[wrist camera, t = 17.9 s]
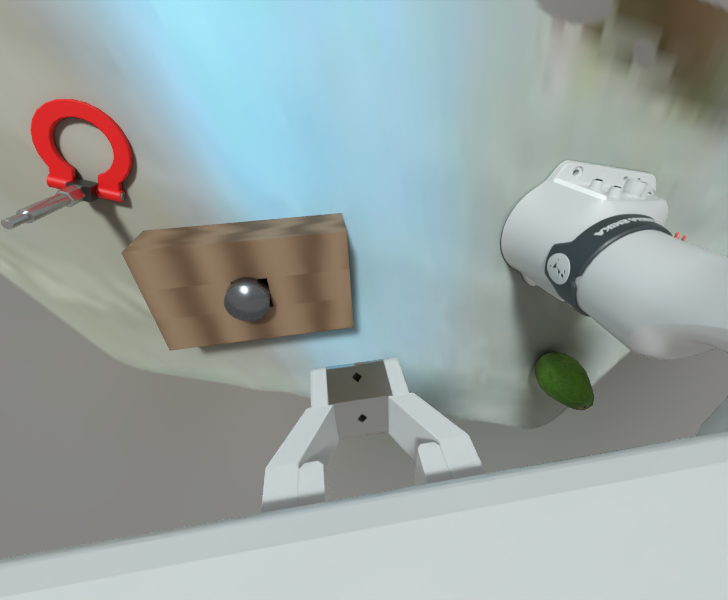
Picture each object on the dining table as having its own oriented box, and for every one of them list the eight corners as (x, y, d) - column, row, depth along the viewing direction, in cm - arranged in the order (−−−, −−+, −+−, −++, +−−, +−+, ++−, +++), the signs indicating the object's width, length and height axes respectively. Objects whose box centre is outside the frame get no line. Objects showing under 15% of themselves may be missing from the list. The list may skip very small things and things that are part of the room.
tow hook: (31, 85, 31) (45, 183, 36) (-105, 80, 21) (-63, 221, 25) (133, 115, 34) (135, 203, 38) (59, 124, 23) (72, 245, 27)
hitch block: (341, 213, 43) (346, 231, 38) (348, 302, 51) (353, 327, 46) (143, 230, 40) (121, 252, 35) (183, 322, 48) (169, 350, 43)
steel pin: (270, 253, 44) (265, 283, 38) (276, 285, 47) (272, 318, 40) (230, 256, 43) (219, 287, 37) (239, 288, 46) (229, 323, 40)
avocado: (534, 343, 63) (578, 393, 53) (570, 342, 64) (619, 390, 54) (520, 373, 67) (557, 425, 57) (554, 371, 68) (596, 421, 59)
